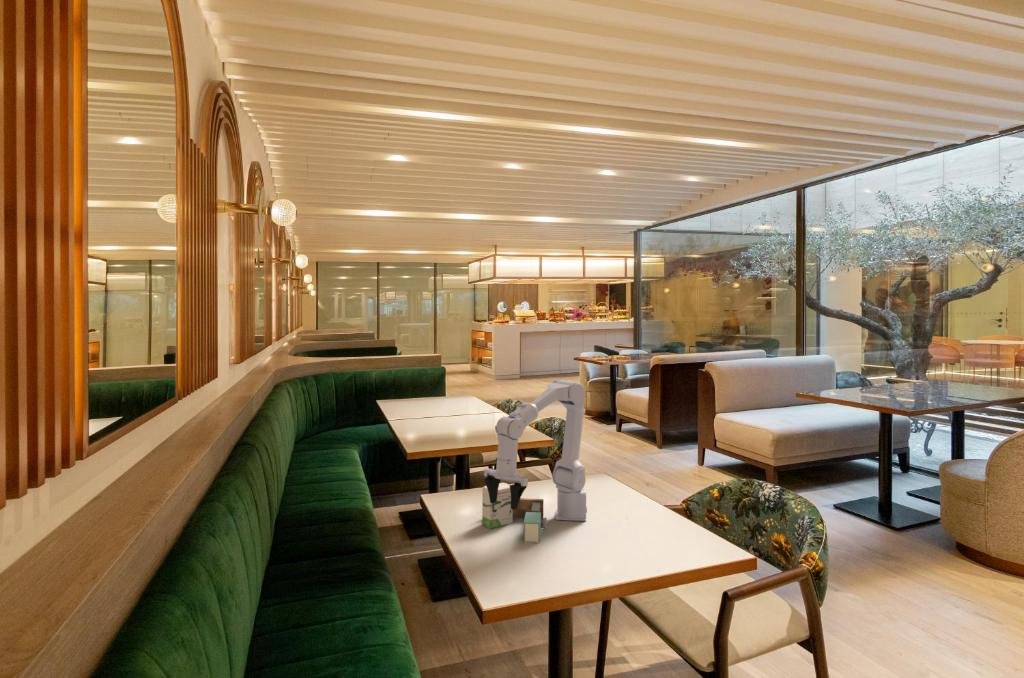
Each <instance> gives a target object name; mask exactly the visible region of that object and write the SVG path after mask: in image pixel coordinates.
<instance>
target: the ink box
mask: <svg viewBox="0 0 1024 678" xmlns="http://www.w3.org/2000/svg"><path fill="white" fill-rule="evenodd" d="M510 485H511V484H509V483H506V482H500V483H499V487H498V493H497V501H496V502H494V503H490V498H489V493H488V489H487V486H486V485H485V486H483V487H482V502H481V503H482V505H481V506H482V509H481V510H482V512H481V513H482V517H481V519H482V522H481V523H482V525H483V526H485V527H487V528H489V529H495V528H498V527H501V525H503V526H505V525H506V524H507V525H510V523H511V524H513V519H514V518H513V510H512V509H511V491H510ZM497 526H498V527H497Z"/></svg>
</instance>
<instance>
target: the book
mask: <svg viewBox="0 0 1024 678" xmlns="http://www.w3.org/2000/svg"><path fill="white" fill-rule="evenodd" d="M523 519H524V520H523V543H530V542H541V535H540V534H541V533H542V529H541V512H526V514H525V518H523Z"/></svg>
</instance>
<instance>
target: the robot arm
mask: <svg viewBox="0 0 1024 678" xmlns="http://www.w3.org/2000/svg"><path fill="white" fill-rule="evenodd" d="M585 398H586V388H585V387H584V385H583V384H582V383H581V382H579V381H570V380H563V379H559V378H556V379H554V380H553V381H552V382H550V383H549V384H548V386H547V389H545V390H544V391H543V392H542V393H541V394H540V395H538V396H537V398H535V399H534V400H533V401H532V402H523V403H521V404H520V406H519V407H518V408H517V409H515V410H514V411H511V412H510V413H509V415H508V416H502V417H500V418H499V420H498V421H497V423H496V425H494V431H495V433H496V435H497V438H496V439H497V453H496V454H497V455H496V469H493V468H486V469H484V473H483V475H484V477H486V478H484V479H483V482H484V484H485V486H487V489H488V493H489V498H490V503H494V502H496V501H497V493H498V487H499V483H501V481H505V482H509V483H512V484H509V485H510V491H511V509H512V510H513V509H517V506H518V503H519V500H520V498H522V496H523V493H524V492H525V490H526V489H527V486H528V485H529V484H528V483H529V478H528V477H523V476H521V475H519V474H518V473H517V460H518V451H519V449H518V448H519V447H518V446H519V439H520V438H522V435H523V434H524V431H525V430H526V427H528V426H529V425H530V424H533V422H534V421H536V420H537V419H538V417H539V413H540V412H541V411H542V410H544V409H545V408H547V407H548V406H550V405H552V404H553V403H554V402H556V401H557V402H559V403H561V404H562V405H563V407H564V408H565V410H566V415H565V426H564V434H563V443H562V451H561V452H562V453H561V458H559V460H557V461H556V462H555V467H554V469H553V471H552V475H551V476H552V477H551V478H552V482H553V484H555V488H556V489H557V493H556V494H557V496H556V497H557V502H556V503H557V509H556V510H555V520H556V521H575V522H576V521H578V522H586V521H587V513H588V507H587V489H583V488H584V487H585V485H586V480H587V479H586V474H585V471H586V468H585V466H584V465H583V463H582V462H581V460H580V452H581V443H582V442H581V440H582V432H583V424H584V415H585V400H586V399H585Z"/></svg>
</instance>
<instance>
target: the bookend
mask: <svg viewBox="0 0 1024 678" xmlns="http://www.w3.org/2000/svg"><path fill="white" fill-rule="evenodd" d="M531 512H540V502H533V504H532V510H531ZM541 528H545V529H544V530H546V528H547V517H543V518H541Z"/></svg>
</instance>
